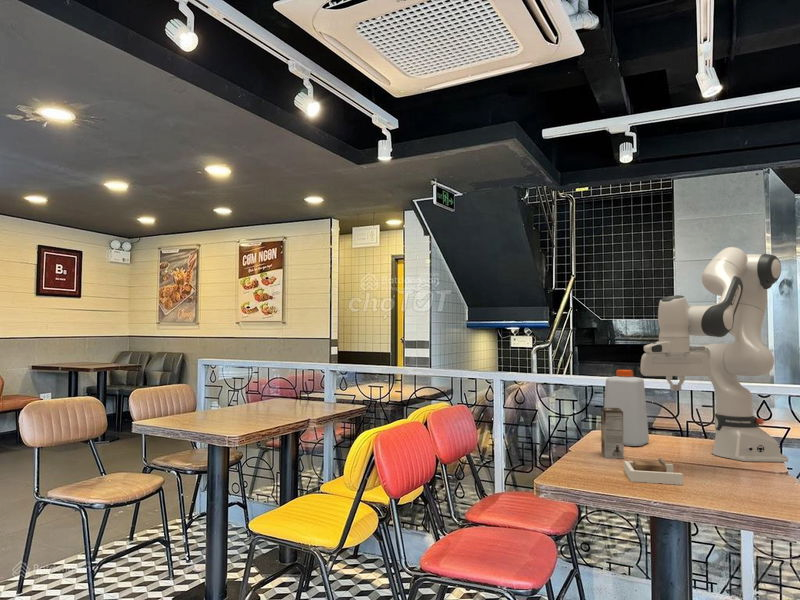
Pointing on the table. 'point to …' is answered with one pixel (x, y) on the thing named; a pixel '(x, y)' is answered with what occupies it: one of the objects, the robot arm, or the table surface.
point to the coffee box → (612, 433)
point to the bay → (653, 475)
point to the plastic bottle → (629, 405)
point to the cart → (649, 465)
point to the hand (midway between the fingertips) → (675, 390)
